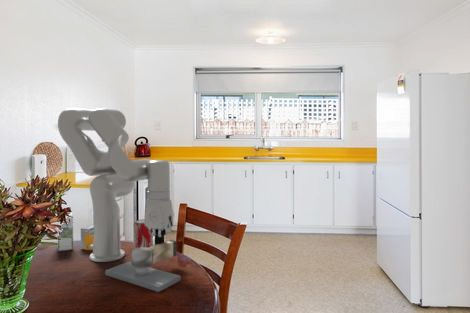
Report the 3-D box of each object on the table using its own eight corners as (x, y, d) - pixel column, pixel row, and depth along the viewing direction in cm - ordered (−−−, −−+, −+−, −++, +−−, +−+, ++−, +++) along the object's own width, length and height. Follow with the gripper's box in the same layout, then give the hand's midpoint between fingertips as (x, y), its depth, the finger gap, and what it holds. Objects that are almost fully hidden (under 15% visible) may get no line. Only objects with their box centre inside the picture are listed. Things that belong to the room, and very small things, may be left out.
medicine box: (89, 250, 142) (89, 229, 141) (80, 248, 143) (80, 228, 142) (102, 244, 149) (102, 224, 148) (93, 243, 150) (93, 223, 150)
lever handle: (140, 271, 110) (139, 254, 110) (127, 266, 114) (127, 250, 114) (180, 256, 124) (180, 242, 123) (168, 252, 128) (168, 238, 127)
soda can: (148, 253, 138) (147, 223, 137) (131, 252, 140) (131, 222, 139) (155, 248, 145) (155, 219, 144) (139, 246, 146) (139, 218, 146)
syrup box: (73, 245, 147) (72, 211, 146) (73, 250, 142) (72, 214, 141) (58, 247, 145) (57, 212, 144) (57, 252, 139) (56, 216, 139)
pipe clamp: (118, 247, 145) (118, 232, 145) (113, 251, 141) (113, 235, 140) (90, 246, 146) (89, 231, 145) (84, 249, 142) (84, 234, 141)
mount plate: (105, 274, 117) (105, 262, 117) (128, 265, 125) (128, 253, 125) (158, 292, 104) (158, 277, 104) (180, 280, 113) (180, 267, 113)
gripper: (135, 195, 124) (136, 246, 125) (167, 199, 116) (168, 253, 117) (151, 192, 130) (152, 241, 131) (182, 195, 122) (182, 247, 123)
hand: (159, 246), depth 124 cm, fingers closed
